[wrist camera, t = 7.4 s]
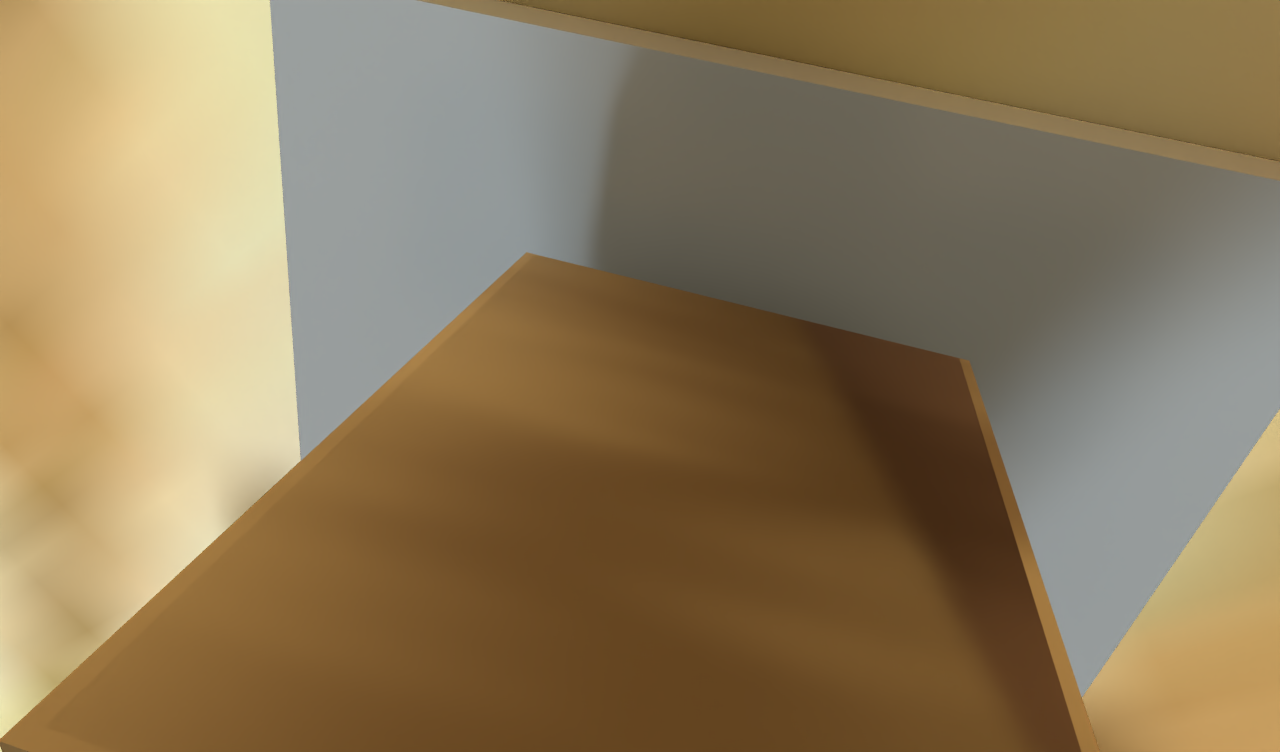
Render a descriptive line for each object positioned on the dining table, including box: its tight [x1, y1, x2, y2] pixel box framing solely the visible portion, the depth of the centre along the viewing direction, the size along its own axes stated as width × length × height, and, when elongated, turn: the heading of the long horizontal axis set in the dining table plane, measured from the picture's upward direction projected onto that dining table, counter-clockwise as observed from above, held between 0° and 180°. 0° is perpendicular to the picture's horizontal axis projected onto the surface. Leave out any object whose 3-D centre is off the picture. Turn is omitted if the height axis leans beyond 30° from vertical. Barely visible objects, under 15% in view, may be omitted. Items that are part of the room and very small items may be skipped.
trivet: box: [270, 0, 1280, 697], centre depth 12 cm, size 12×12×2 cm
